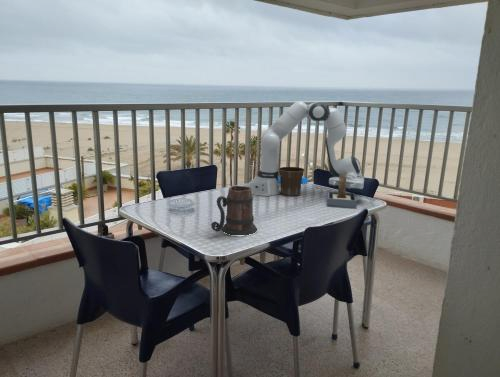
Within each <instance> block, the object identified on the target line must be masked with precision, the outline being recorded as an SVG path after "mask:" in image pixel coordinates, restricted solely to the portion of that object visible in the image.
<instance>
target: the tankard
mask: <svg viewBox="0 0 500 377" xmlns="http://www.w3.org/2000/svg"><path fill="white" fill-rule="evenodd" d="M253 201H254V196H253V194H252V191H251V188H250V187H248V185H247V186H246V185H245V186H244V185H233V186H230V187H229V188H228V191H227V195H226V197H225V196H222V195H221V196H218V197H217V198H216V205H217V208H218V210H219V212H220V221H219V222H217V221H213V222H211V225H210V227H211V229H212V230H213V231H214V232H222V231H223V232H225V233H227V234H230V235H249V234H253V233H255V232H256V231H257V229H258V227H256V224H254V218H255V217H254V211H253V210H254V209H253V208H254V206H253V205H254V202H253ZM223 207H224V208H225V207H226V215H225V211H224V208H223ZM223 232H222V233H223ZM257 232H258V231H257ZM257 232H256V233H257ZM256 233H255V234H256ZM227 234H226V235H227ZM230 235H229V236H230ZM253 235H254V234H253Z"/></svg>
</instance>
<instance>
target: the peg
mask: <svg viewBox="0 0 500 377" xmlns="http://www.w3.org/2000/svg"><path fill="white" fill-rule="evenodd" d="M338 177H339V186H338V191H337V192H338V198H345V193H346V190H347V188H346V178H347V175H346V174H340V175H339V176H338Z"/></svg>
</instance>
